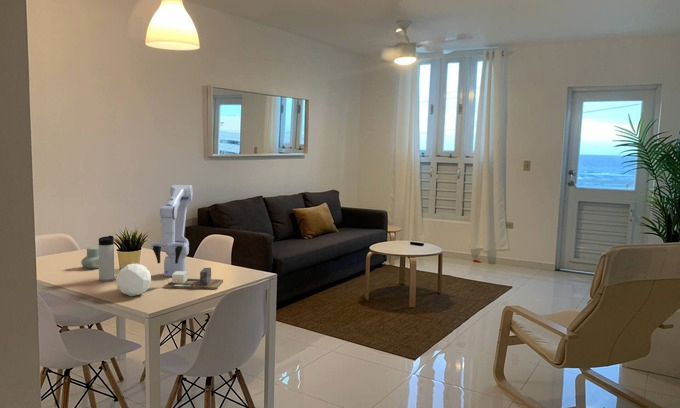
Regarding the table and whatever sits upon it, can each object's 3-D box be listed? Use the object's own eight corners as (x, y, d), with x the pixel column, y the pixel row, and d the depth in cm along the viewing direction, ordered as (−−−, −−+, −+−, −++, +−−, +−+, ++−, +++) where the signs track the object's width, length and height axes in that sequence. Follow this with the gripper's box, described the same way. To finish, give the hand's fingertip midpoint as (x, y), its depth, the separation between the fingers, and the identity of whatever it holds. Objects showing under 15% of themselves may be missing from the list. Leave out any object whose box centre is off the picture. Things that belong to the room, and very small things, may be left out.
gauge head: (170, 285, 222) (170, 276, 221) (176, 279, 231) (176, 271, 230) (181, 285, 222) (181, 276, 222) (187, 280, 231) (187, 271, 230)
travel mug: (118, 279, 233) (117, 236, 231) (107, 282, 227) (106, 238, 225) (107, 277, 235) (106, 235, 233) (96, 281, 229) (95, 237, 227)
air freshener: (88, 271, 246) (88, 250, 245) (78, 268, 250) (77, 248, 249) (108, 267, 255) (108, 247, 254) (98, 264, 259) (98, 245, 258)
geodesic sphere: (105, 287, 200) (128, 259, 202) (106, 278, 212) (127, 252, 214) (137, 306, 205) (158, 278, 207) (136, 296, 218) (156, 270, 220)
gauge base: (166, 288, 221) (166, 272, 221) (175, 280, 234) (175, 265, 234) (216, 289, 222) (217, 273, 221) (223, 281, 235) (223, 266, 234)
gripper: (148, 233, 221) (148, 264, 222) (183, 234, 223) (182, 264, 223) (153, 231, 228) (152, 261, 229) (186, 232, 230) (185, 262, 230)
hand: (167, 263), depth 226 cm, fingers open, 7 cm apart
